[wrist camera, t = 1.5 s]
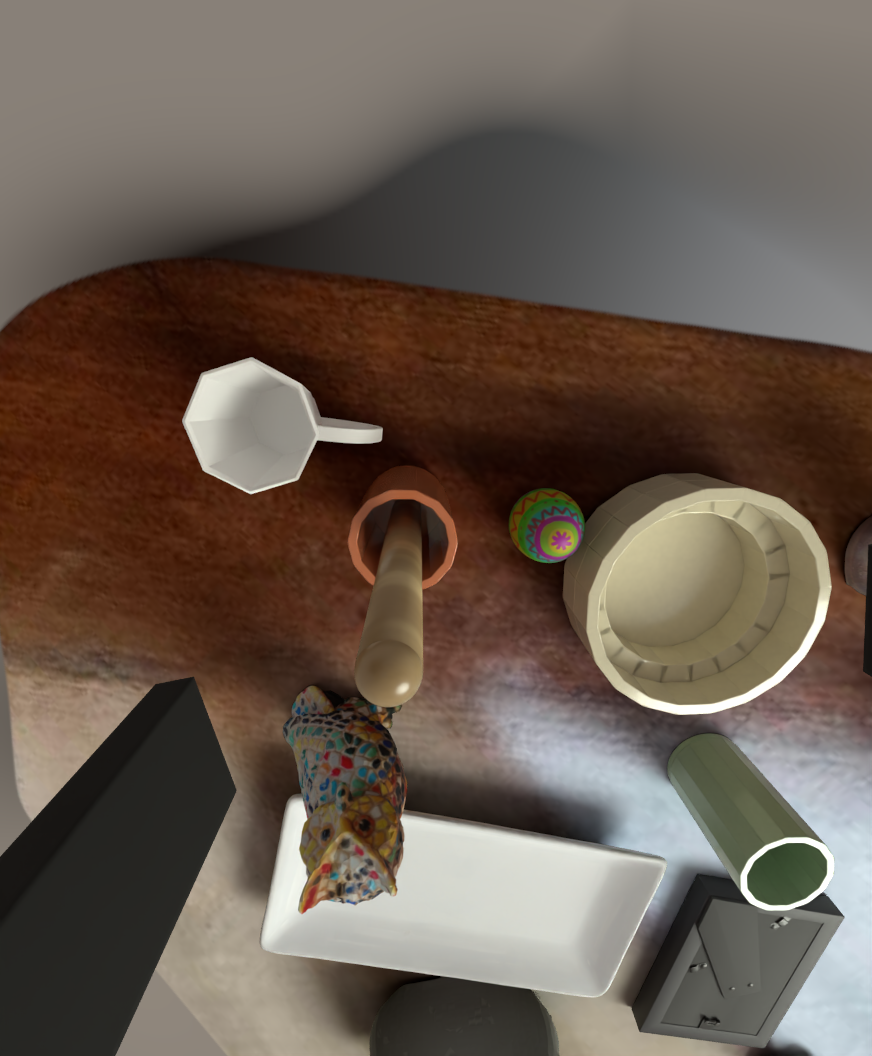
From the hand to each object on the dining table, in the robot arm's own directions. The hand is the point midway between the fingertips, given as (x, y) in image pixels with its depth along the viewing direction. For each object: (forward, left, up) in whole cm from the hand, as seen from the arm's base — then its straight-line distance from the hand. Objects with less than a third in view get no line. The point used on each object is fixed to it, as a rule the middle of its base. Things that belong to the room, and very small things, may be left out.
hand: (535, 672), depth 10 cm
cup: (+6, -8, -26) cm, 28 cm away
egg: (-3, +6, -26) cm, 27 cm away
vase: (-2, +33, -26) cm, 42 cm away
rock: (+31, +44, -26) cm, 60 cm away
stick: (+4, 0, -25) cm, 26 cm away
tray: (+21, +29, -26) cm, 44 cm away
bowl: (-8, +16, -26) cm, 32 cm away
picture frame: (+7, +54, -26) cm, 60 cm away
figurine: (+18, +11, -26) cm, 34 cm away
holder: (+4, 0, -26) cm, 26 cm away
